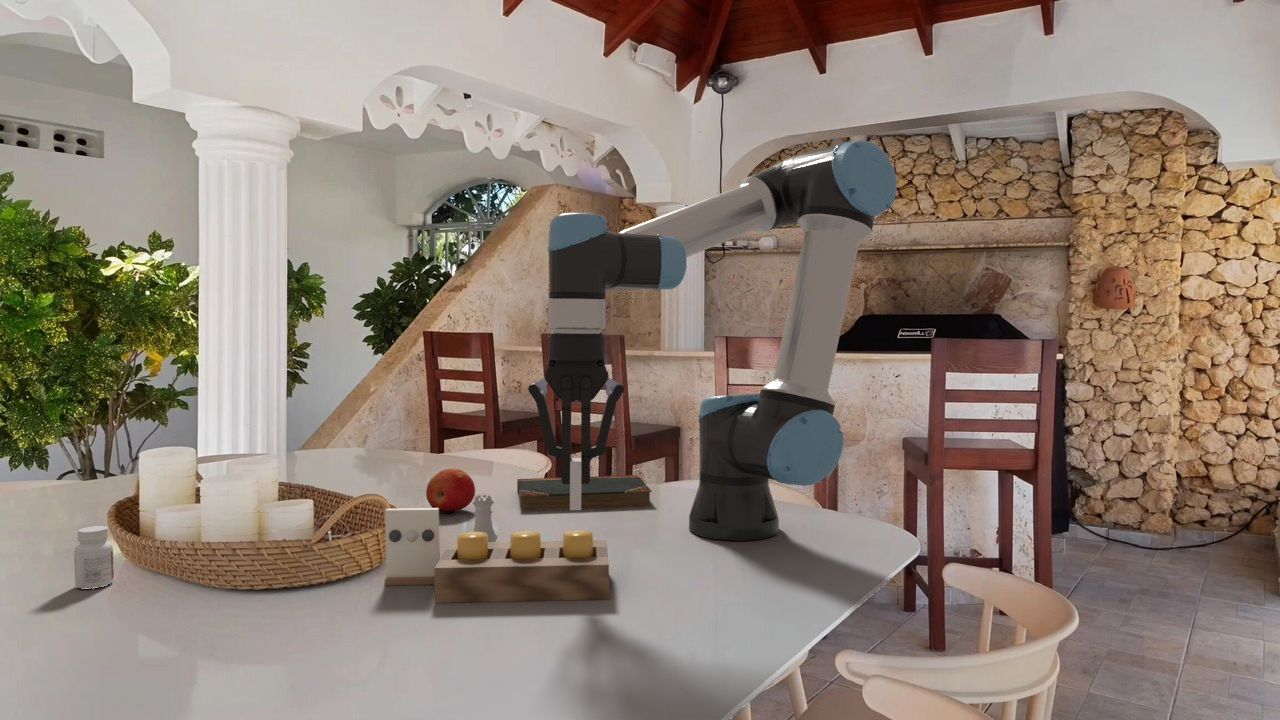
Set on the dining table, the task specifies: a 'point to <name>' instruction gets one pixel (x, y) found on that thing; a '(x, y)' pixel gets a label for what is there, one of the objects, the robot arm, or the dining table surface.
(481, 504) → the rook chess piece
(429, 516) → the card
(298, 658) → the dining table surface
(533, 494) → the book
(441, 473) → the apple
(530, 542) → the button middle
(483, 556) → the button
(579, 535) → the button
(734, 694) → the dining table surface
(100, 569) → the pill bottle
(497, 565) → the board
